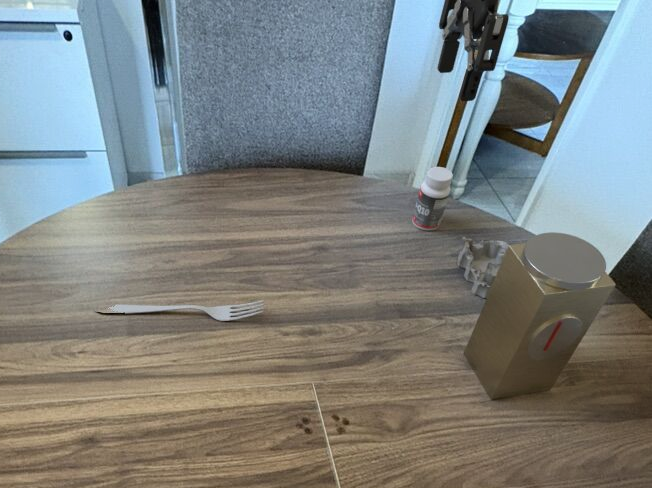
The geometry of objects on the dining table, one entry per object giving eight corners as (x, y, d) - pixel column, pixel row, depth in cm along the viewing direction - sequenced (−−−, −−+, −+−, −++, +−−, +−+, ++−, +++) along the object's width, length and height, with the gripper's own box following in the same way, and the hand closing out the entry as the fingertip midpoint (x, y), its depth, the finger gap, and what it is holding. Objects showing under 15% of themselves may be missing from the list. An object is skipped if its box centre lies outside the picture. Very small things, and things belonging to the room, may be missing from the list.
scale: (520, 343, 88) (580, 228, 73) (553, 392, 83) (624, 279, 68) (462, 352, 86) (510, 236, 71) (491, 402, 82) (550, 289, 66)
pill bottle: (406, 218, 103) (418, 168, 96) (429, 212, 104) (443, 162, 97) (422, 234, 101) (436, 184, 94) (445, 227, 102) (460, 177, 95)
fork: (96, 302, 88) (93, 292, 87) (263, 308, 89) (264, 298, 88) (92, 317, 87) (90, 307, 85) (263, 323, 88) (264, 313, 86)
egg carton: (452, 257, 98) (459, 233, 95) (496, 254, 99) (506, 231, 96) (472, 300, 93) (481, 277, 89) (519, 298, 93) (530, 275, 90)
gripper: (549, -45, 71) (499, 108, 84) (500, -86, 78) (461, 61, 92) (489, -43, 70) (448, 111, 83) (445, -85, 77) (413, 63, 91)
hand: (455, 85), depth 87 cm, fingers open, 8 cm apart
